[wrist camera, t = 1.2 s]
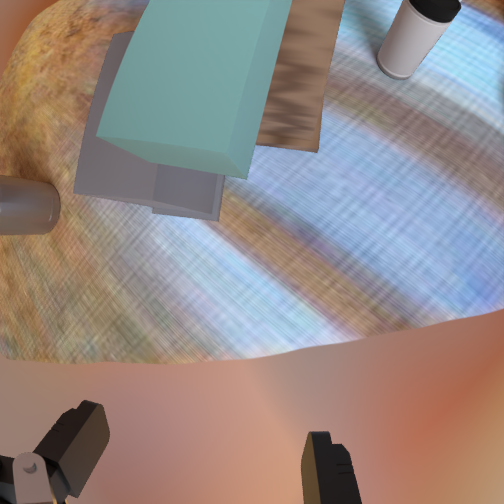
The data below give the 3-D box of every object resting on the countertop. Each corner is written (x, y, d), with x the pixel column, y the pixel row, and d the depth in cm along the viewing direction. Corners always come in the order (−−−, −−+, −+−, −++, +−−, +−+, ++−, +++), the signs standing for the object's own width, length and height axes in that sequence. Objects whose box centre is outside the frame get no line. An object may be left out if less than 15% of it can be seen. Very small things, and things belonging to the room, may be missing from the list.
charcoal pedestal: (155, 213, 45) (65, 201, 24) (175, 100, 44) (109, 29, 23) (218, 221, 44) (160, 211, 23) (236, 102, 43) (200, 18, 22)
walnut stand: (245, 144, 43) (159, -23, 10) (256, 76, 42) (207, -109, 10) (317, 152, 42) (373, -15, 9) (323, 84, 41) (359, -103, 9)
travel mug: (369, 48, 40) (402, -34, 20) (405, 48, 39) (450, -25, 20) (380, 81, 40) (425, 4, 21) (417, 80, 40) (473, 12, 20)
